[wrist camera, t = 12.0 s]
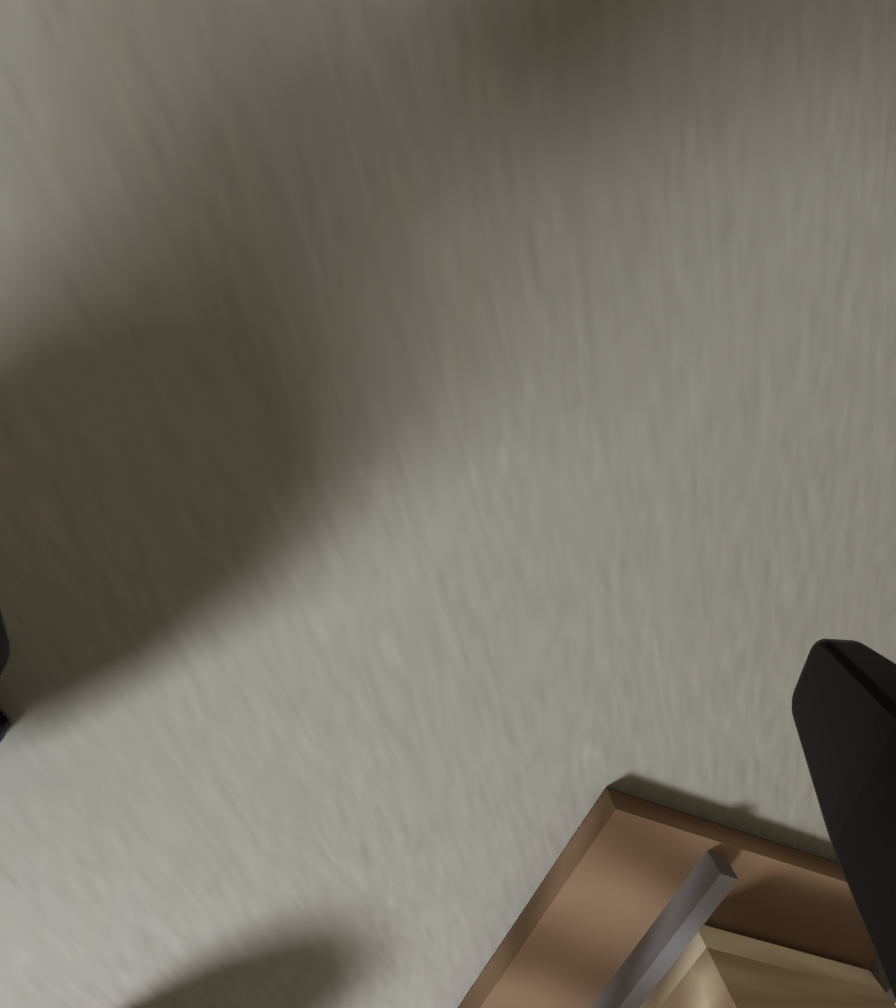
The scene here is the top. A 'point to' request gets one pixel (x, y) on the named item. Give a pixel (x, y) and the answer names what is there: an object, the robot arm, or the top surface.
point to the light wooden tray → (760, 977)
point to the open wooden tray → (663, 909)
